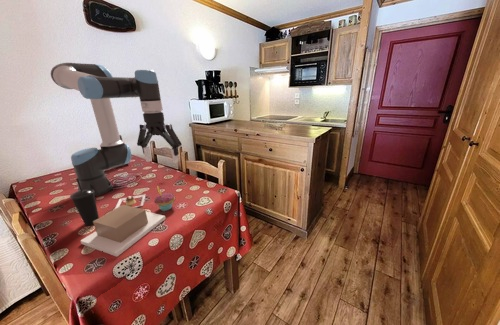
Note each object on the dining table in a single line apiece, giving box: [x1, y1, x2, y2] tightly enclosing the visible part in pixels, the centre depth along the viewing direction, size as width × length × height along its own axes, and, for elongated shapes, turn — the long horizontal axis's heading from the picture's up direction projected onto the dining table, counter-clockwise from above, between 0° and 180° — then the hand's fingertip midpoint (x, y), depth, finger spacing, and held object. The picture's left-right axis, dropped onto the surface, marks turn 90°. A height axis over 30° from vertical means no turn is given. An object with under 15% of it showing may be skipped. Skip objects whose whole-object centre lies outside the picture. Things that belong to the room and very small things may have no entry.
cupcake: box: [153, 185, 176, 212], centre depth 92 cm, size 9×8×12 cm
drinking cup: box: [69, 177, 100, 227], centre depth 82 cm, size 8×8×20 cm
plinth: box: [80, 204, 167, 257], centre depth 78 cm, size 18×22×8 cm
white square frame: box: [114, 193, 146, 209], centre depth 99 cm, size 12×12×5 cm
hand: (162, 161), depth 89 cm, fingers open, 13 cm apart
